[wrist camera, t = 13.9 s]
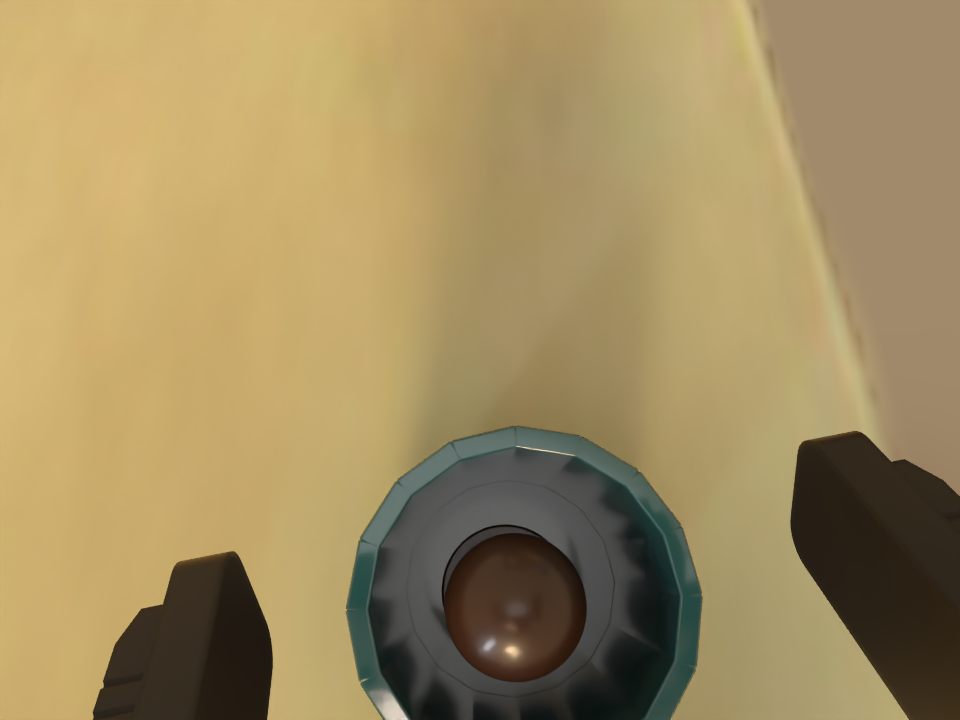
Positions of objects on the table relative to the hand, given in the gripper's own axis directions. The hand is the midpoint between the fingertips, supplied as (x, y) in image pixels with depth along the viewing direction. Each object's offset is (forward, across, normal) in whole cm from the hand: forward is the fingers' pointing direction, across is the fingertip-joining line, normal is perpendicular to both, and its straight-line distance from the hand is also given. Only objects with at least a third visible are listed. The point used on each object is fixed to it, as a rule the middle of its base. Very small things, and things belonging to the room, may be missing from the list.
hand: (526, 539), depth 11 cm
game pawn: (+9, 0, +11) cm, 15 cm away
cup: (+10, 0, +12) cm, 15 cm away
